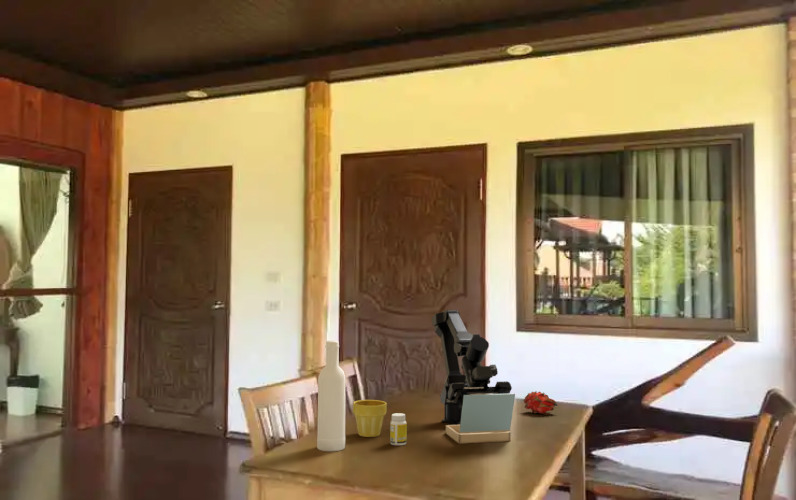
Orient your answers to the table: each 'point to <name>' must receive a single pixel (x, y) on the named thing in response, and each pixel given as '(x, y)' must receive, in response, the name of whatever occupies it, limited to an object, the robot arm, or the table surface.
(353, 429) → the table surface
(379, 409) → the plant pot
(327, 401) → the bottle
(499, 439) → the wooden tray
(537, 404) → the dragon fruit
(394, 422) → the supplement bottle
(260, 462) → the table surface
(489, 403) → the lid
